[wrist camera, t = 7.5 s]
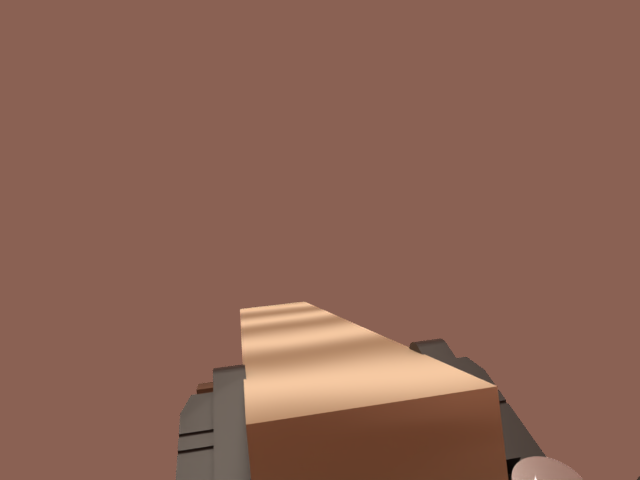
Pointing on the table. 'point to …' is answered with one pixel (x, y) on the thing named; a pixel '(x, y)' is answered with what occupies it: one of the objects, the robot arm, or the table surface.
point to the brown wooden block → (359, 404)
